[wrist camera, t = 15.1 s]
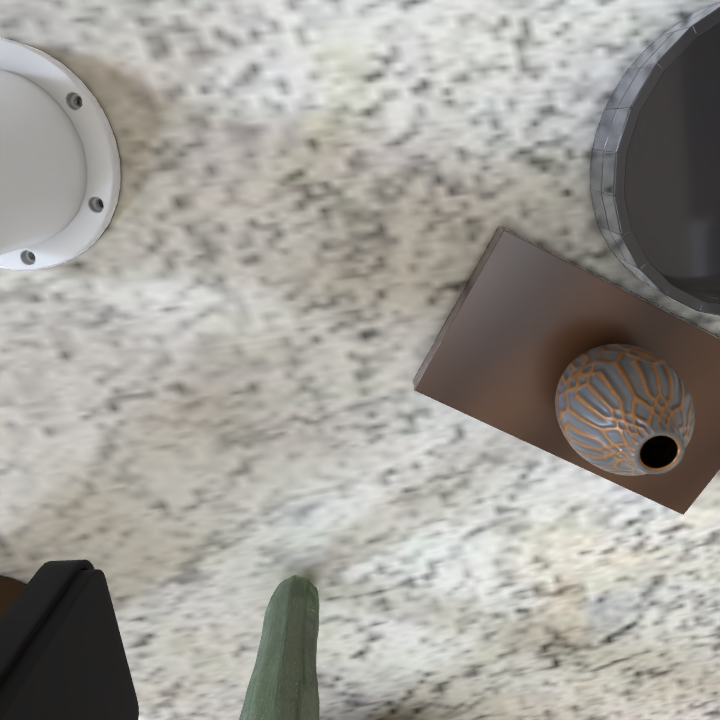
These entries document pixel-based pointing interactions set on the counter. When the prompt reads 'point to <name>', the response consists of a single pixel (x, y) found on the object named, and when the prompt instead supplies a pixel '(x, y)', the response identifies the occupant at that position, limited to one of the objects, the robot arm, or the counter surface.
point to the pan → (666, 164)
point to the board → (565, 357)
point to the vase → (625, 410)
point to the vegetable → (286, 657)
